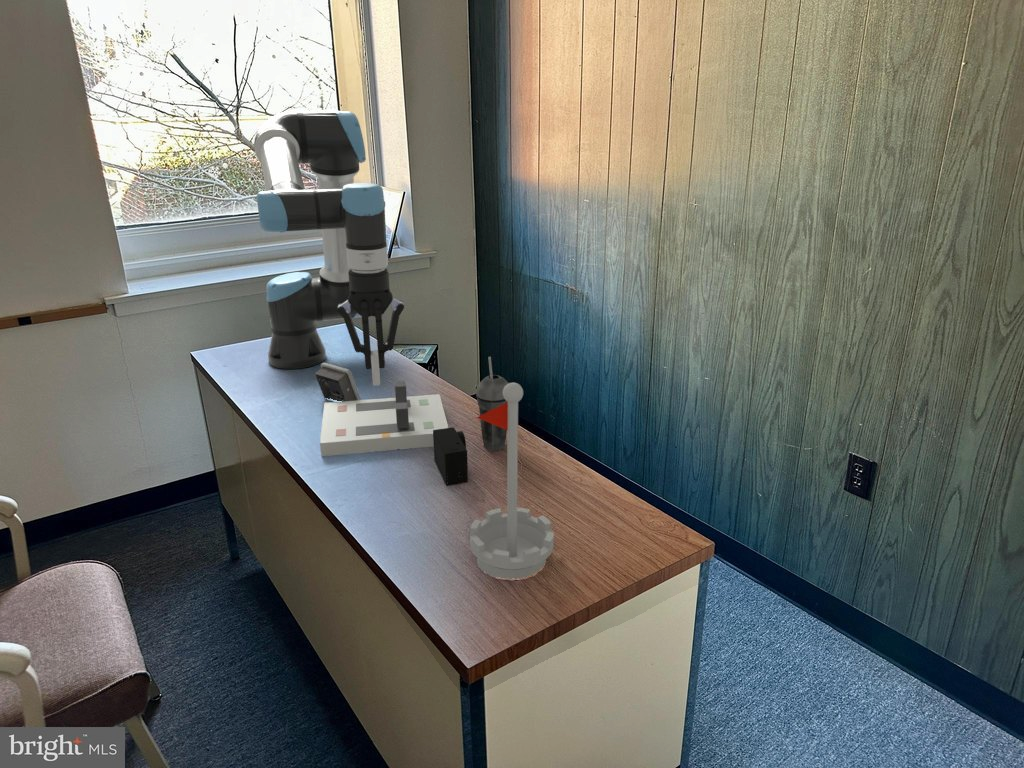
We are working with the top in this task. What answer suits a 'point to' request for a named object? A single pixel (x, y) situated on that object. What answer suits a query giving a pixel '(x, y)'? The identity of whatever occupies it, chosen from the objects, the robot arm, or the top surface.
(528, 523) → the flag stand
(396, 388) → the block
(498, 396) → the beverage cup
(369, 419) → the breaker panel
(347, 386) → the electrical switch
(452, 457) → the digital camera
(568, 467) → the top surface
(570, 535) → the top surface
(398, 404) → the block
